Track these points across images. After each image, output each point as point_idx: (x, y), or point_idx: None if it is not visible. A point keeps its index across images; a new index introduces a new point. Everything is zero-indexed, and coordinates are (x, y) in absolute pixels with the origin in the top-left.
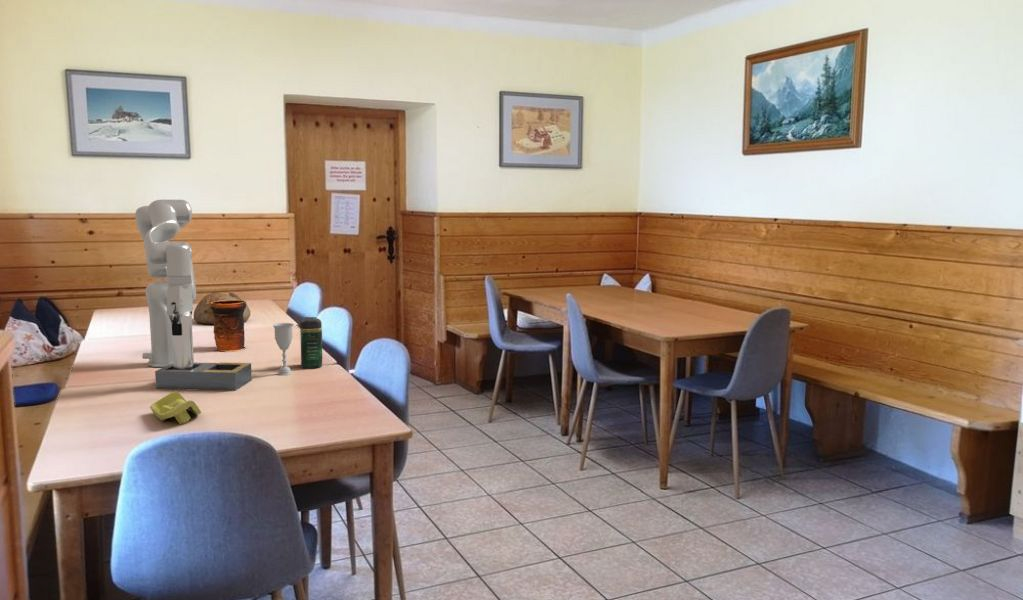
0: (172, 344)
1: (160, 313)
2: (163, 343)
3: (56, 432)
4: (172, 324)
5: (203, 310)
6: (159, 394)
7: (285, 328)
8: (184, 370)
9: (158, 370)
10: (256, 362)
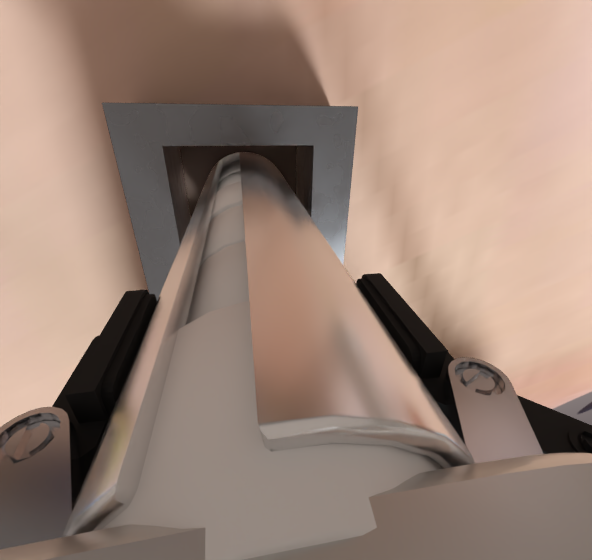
0: (201, 215)
1: None
2: None
3: None
4: (77, 393)
5: None
6: (49, 175)
7: None
8: (170, 259)
9: (127, 115)
10: (556, 283)
